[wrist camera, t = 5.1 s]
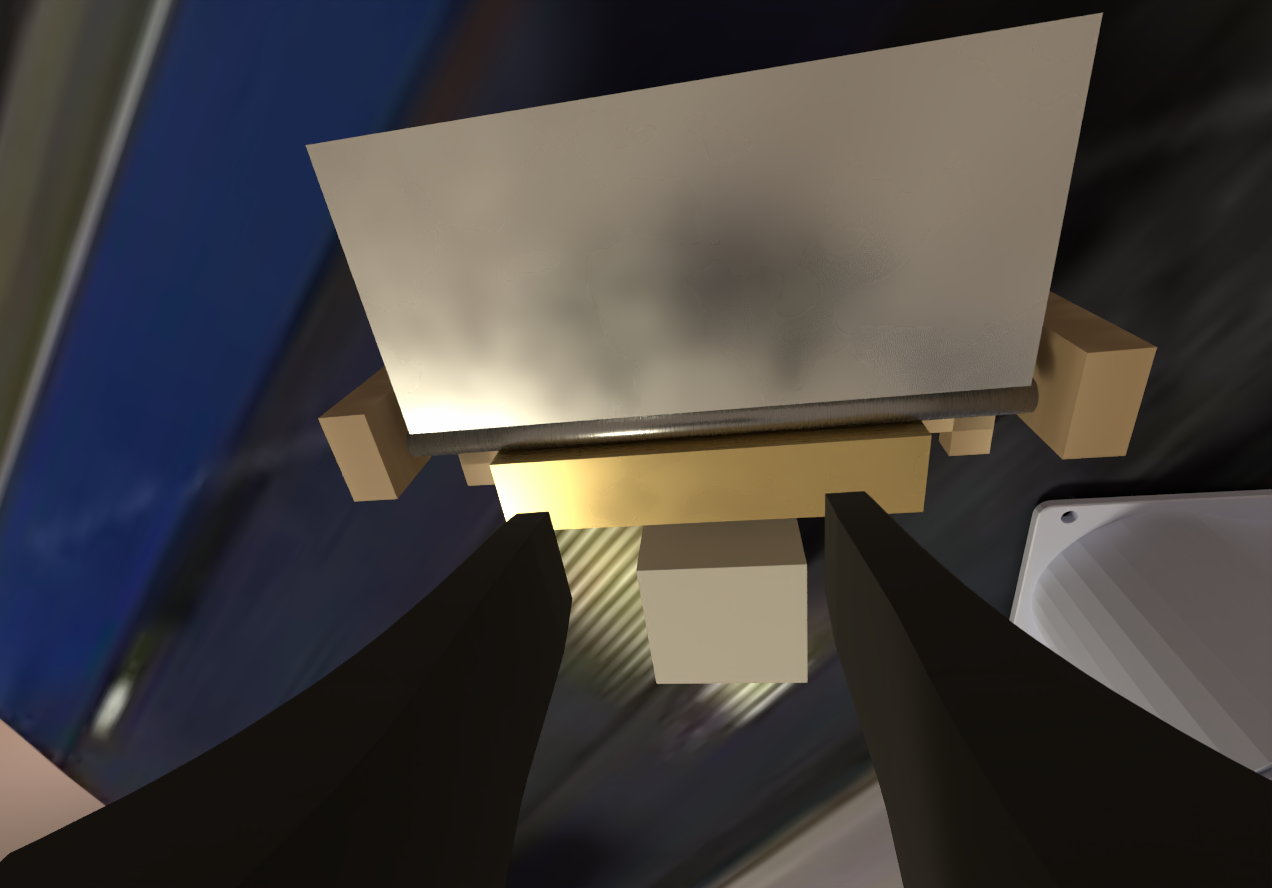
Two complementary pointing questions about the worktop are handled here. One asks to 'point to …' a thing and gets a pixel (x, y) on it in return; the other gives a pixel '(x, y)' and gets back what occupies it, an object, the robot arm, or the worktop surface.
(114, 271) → the worktop surface
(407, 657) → the robot arm
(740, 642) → the stone block
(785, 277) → the trapdoor
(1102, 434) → the frame
